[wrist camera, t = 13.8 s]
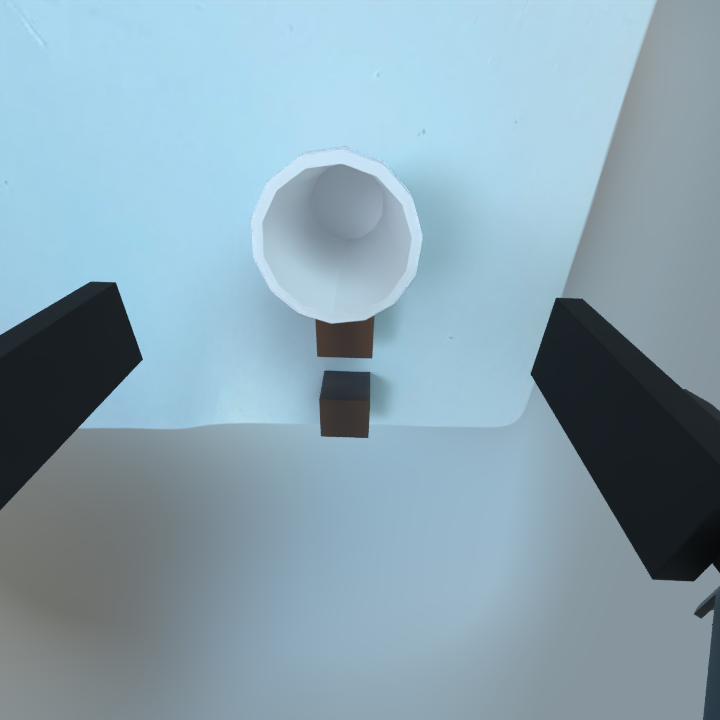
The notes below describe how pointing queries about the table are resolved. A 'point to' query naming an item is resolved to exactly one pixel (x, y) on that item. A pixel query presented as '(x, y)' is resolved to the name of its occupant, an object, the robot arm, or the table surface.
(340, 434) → the walnut block far
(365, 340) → the walnut block near
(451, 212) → the table surface
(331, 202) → the foam cup
